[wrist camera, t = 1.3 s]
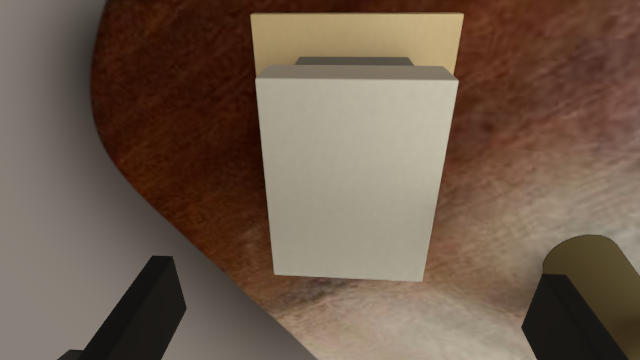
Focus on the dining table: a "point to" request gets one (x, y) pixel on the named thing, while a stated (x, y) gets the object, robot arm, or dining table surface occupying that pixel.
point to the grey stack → (356, 39)
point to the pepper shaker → (603, 285)
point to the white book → (353, 166)
